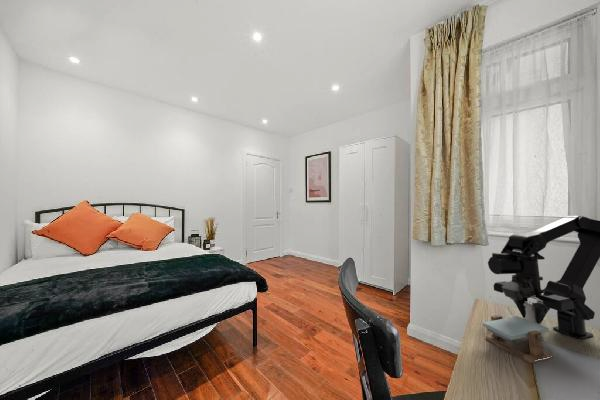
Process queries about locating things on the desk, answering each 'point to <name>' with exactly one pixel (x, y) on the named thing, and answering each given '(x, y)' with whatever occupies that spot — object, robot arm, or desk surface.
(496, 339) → the flap frame
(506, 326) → the pivoting flap
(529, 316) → the rook chess piece
